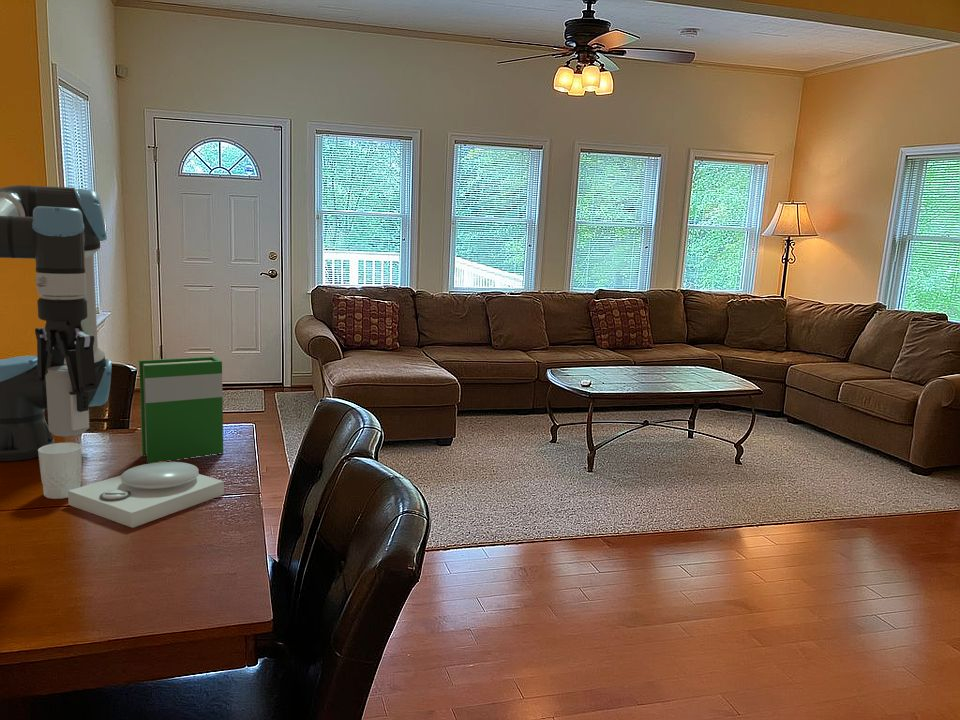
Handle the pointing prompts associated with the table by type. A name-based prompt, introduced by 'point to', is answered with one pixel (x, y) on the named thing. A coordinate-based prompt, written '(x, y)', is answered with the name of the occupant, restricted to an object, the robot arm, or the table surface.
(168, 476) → the kitchen scale
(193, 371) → the hardback book
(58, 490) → the white cup
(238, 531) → the table surface
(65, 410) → the beverage can
